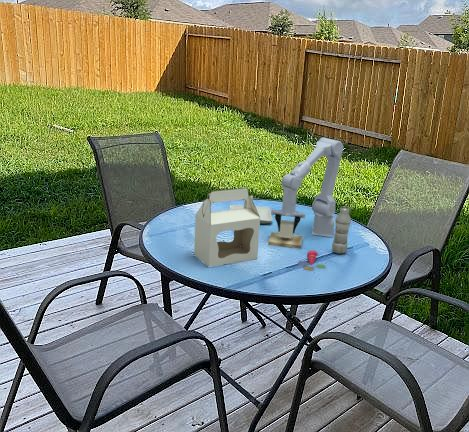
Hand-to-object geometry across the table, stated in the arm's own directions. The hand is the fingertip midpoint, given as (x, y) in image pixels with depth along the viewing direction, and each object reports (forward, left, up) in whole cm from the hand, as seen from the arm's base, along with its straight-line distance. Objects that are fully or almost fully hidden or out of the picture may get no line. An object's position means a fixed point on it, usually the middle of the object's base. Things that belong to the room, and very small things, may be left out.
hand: (286, 231), depth 210 cm
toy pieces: (-12, +21, -5) cm, 25 cm away
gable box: (+22, +24, -5) cm, 33 cm away
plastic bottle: (-23, +5, -5) cm, 24 cm away
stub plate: (0, 0, -5) cm, 5 cm away
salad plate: (+20, -27, -5) cm, 34 cm away
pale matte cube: (0, 0, -2) cm, 2 cm away
